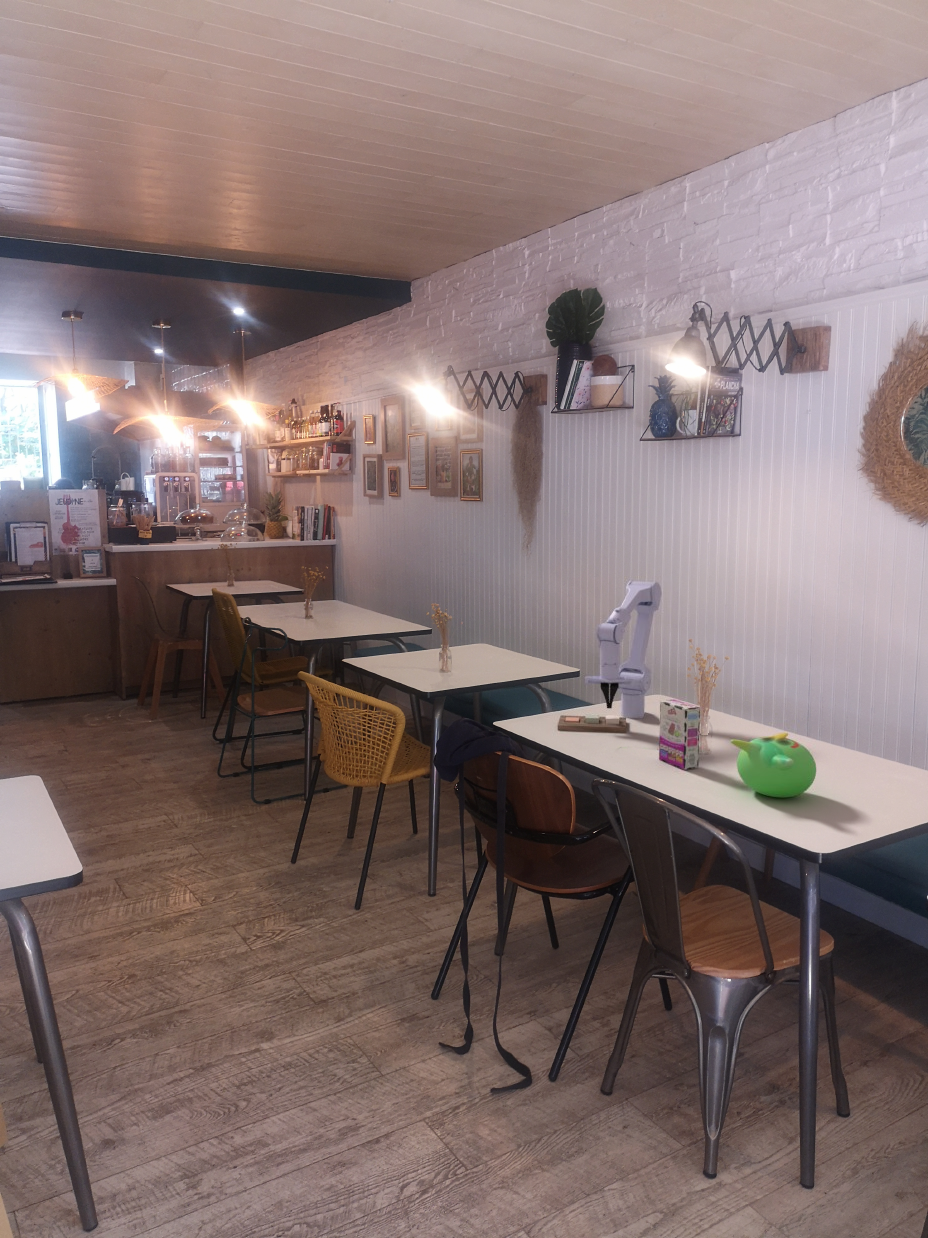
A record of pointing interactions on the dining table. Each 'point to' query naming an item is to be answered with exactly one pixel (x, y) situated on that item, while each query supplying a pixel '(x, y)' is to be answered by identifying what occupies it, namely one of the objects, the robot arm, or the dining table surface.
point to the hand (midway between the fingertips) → (609, 707)
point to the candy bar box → (679, 734)
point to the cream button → (612, 719)
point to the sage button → (592, 719)
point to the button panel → (592, 725)
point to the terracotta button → (572, 719)
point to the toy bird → (775, 765)
